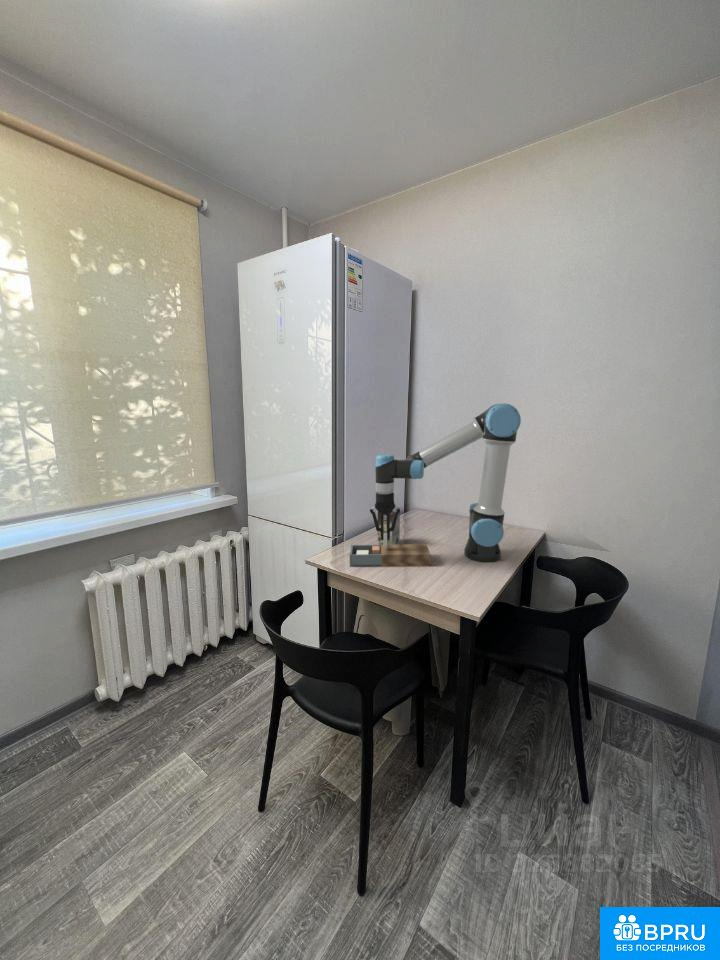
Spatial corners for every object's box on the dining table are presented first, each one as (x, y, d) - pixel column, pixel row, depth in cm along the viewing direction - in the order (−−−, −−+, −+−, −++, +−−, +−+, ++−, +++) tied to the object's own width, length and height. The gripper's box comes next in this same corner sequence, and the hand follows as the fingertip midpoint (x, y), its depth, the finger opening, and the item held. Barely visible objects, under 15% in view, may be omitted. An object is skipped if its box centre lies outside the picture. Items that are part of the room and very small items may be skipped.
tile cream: (357, 550, 166) (357, 556, 167) (356, 554, 161) (356, 561, 162) (368, 550, 166) (368, 556, 166) (368, 554, 161) (368, 561, 162)
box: (380, 555, 170) (380, 544, 169) (381, 566, 158) (381, 555, 157) (351, 555, 170) (351, 545, 169) (349, 566, 158) (349, 555, 157)
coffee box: (377, 544, 184) (376, 511, 181) (385, 540, 189) (385, 508, 186) (392, 548, 178) (391, 514, 175) (400, 544, 182) (400, 511, 179)
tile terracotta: (379, 545, 165) (372, 545, 165) (379, 550, 160) (372, 550, 160) (379, 556, 166) (372, 556, 166) (379, 561, 161) (372, 561, 161)
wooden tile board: (426, 555, 169) (426, 544, 168) (430, 566, 157) (430, 554, 156) (380, 555, 170) (380, 544, 169) (381, 566, 158) (381, 555, 157)
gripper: (400, 490, 162) (400, 543, 166) (369, 490, 162) (369, 543, 166) (401, 493, 154) (401, 549, 159) (368, 494, 155) (369, 549, 159)
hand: (385, 546), depth 163 cm, fingers closed
